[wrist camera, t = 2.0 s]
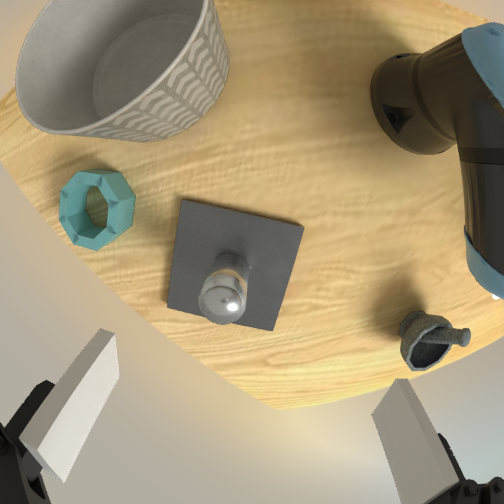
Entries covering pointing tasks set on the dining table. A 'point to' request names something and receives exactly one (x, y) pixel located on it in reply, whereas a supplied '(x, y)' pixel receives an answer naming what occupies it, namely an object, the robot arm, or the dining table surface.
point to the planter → (121, 67)
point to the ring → (75, 207)
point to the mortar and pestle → (428, 339)
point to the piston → (231, 265)
